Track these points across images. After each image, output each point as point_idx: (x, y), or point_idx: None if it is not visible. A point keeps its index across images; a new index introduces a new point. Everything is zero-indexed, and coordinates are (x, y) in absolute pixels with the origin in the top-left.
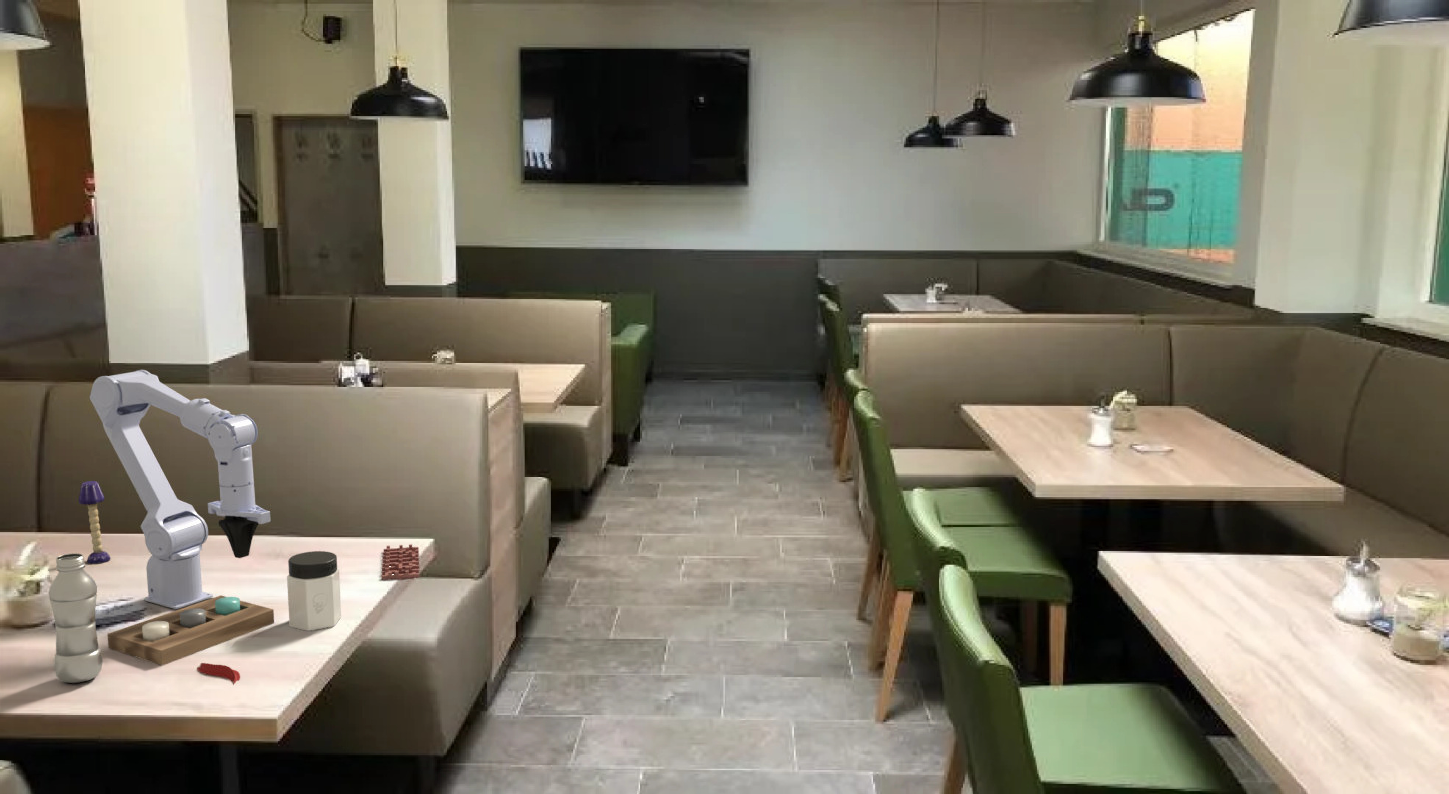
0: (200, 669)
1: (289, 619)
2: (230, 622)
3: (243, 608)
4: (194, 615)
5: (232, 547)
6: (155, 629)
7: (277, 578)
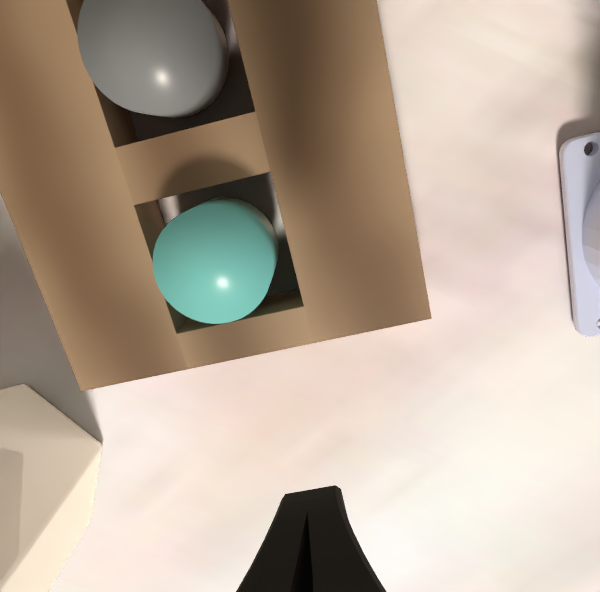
0: None
1: (5, 397)
2: (28, 183)
3: None
4: (90, 29)
5: (332, 534)
6: None
7: (573, 587)
